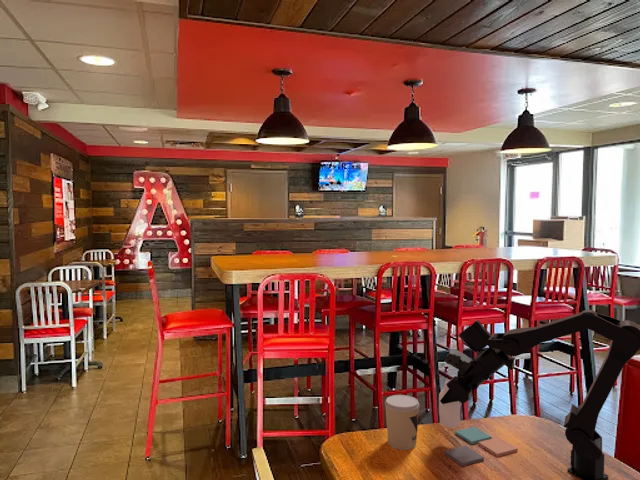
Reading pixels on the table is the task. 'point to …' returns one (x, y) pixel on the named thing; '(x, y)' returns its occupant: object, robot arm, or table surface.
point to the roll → (449, 410)
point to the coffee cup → (402, 421)
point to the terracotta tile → (498, 446)
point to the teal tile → (473, 435)
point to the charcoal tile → (464, 455)
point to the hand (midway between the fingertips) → (444, 398)
